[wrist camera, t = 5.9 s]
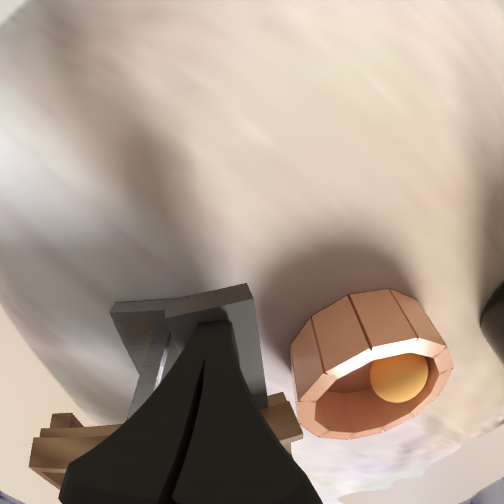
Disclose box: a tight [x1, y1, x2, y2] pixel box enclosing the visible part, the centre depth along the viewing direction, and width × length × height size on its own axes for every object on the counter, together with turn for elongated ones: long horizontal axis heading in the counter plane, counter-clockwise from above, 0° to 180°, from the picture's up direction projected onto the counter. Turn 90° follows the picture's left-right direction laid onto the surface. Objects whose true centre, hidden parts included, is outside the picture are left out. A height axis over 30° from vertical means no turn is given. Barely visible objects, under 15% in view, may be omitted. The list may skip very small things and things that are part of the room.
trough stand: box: [110, 298, 179, 420], centre depth 17 cm, size 6×12×8 cm, turn 7°
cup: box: [290, 289, 453, 440], centre depth 18 cm, size 10×10×4 cm
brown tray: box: [29, 283, 303, 490], centre depth 13 cm, size 14×14×4 cm
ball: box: [370, 352, 428, 403], centre depth 18 cm, size 4×4×4 cm
